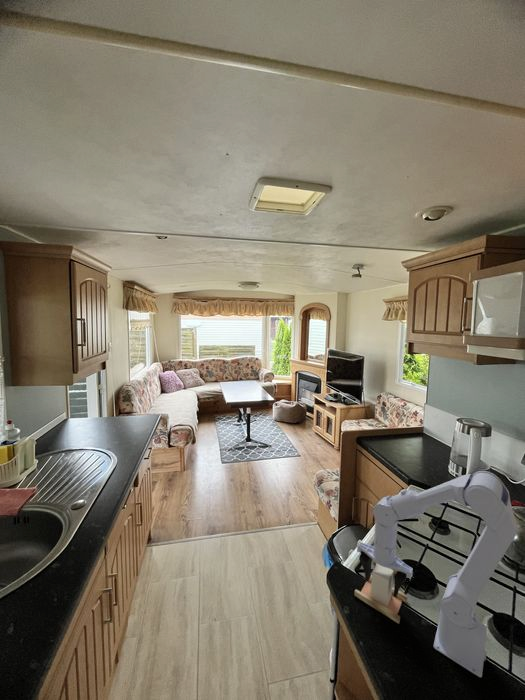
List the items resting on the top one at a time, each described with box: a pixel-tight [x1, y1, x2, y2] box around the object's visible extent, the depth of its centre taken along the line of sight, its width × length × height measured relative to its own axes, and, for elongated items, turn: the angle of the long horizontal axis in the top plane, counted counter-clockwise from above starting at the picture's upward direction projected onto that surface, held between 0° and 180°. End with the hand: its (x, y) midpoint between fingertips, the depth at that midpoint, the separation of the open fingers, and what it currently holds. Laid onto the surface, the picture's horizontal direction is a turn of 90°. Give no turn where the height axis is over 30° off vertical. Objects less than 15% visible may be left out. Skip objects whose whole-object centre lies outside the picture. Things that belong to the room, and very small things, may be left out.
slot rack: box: [353, 559, 409, 625], centre depth 87 cm, size 12×16×2 cm
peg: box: [370, 564, 394, 608], centre depth 84 cm, size 4×4×8 cm
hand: (381, 586), depth 84 cm, fingers open, 7 cm apart
